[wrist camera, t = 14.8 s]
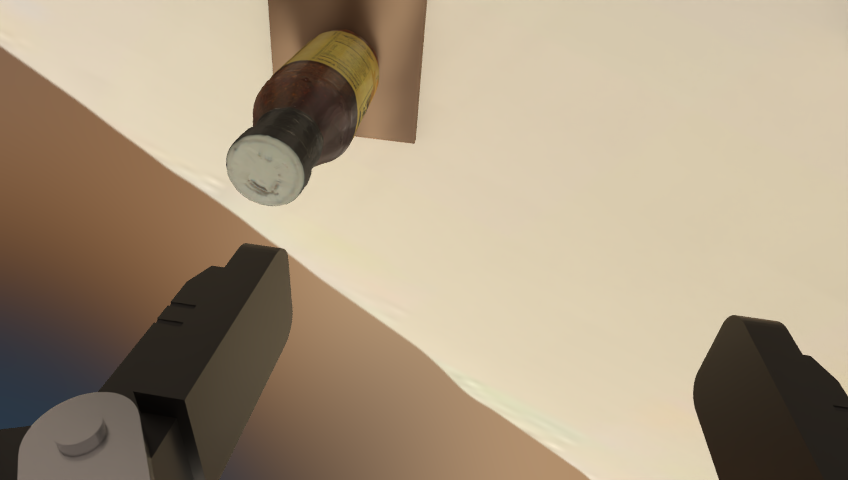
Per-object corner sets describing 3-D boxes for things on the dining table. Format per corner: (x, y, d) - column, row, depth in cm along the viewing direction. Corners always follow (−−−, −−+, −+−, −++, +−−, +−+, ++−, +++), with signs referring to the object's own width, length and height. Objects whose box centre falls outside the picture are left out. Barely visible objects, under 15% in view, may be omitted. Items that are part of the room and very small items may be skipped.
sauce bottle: (334, 116, 46) (246, 248, 30) (291, 48, 43) (167, 152, 27) (400, 81, 44) (345, 203, 27) (359, 7, 41) (270, 94, 25)
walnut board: (427, -10, 41) (426, -8, 40) (415, 138, 48) (414, 143, 47) (270, -28, 41) (266, -26, 41) (280, 122, 48) (276, 126, 47)
